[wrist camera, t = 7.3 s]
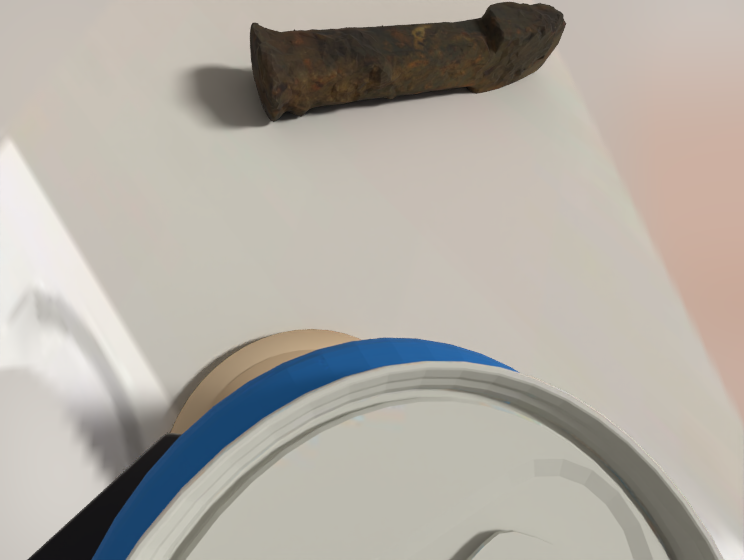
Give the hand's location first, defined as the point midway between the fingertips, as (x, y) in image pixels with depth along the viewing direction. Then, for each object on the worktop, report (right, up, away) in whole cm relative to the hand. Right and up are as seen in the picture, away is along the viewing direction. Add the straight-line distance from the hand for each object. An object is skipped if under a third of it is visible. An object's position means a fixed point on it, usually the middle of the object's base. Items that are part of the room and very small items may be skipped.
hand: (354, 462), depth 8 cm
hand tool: (+3, +16, +16) cm, 23 cm away
